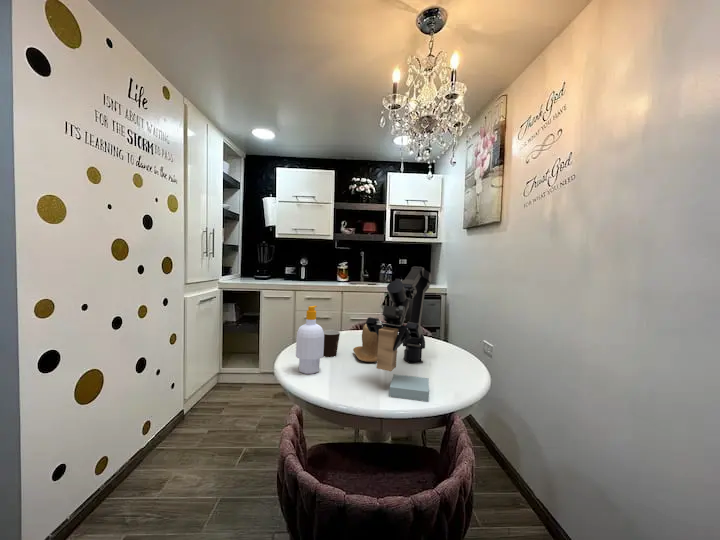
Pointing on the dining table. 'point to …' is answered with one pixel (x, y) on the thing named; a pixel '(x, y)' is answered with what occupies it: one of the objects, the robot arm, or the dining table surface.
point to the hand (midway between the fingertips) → (386, 348)
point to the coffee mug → (331, 342)
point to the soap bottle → (310, 344)
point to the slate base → (409, 387)
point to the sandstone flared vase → (367, 346)
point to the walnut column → (387, 348)
